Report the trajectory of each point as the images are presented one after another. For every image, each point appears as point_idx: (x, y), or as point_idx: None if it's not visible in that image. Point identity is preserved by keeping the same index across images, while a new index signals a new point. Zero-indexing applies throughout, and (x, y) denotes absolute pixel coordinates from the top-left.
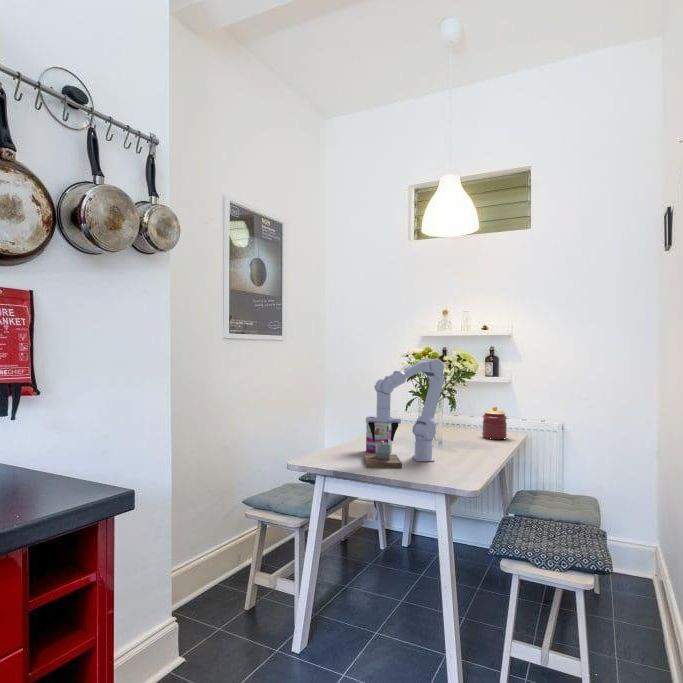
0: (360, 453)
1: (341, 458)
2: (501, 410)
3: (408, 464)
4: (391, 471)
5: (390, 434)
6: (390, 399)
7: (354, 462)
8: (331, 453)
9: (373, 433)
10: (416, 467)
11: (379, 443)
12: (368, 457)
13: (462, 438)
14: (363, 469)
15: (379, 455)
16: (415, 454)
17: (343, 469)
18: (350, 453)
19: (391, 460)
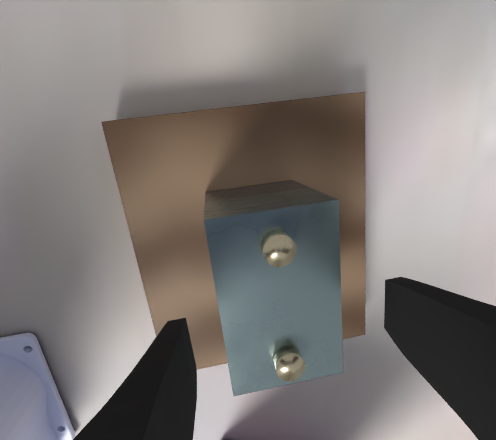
0: (360, 417)
1: (463, 293)
2: None
3: (79, 243)
4: (185, 5)
5: None
6: None
7: (408, 220)
8: None
9: (493, 315)
10: (9, 168)
11: (312, 315)
12: (345, 251)
13: None
14: (373, 41)
15: (287, 187)
16: (29, 404)
17: (492, 21)
18: (407, 402)
19: (190, 197)
